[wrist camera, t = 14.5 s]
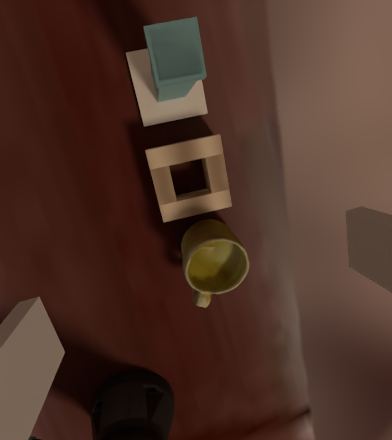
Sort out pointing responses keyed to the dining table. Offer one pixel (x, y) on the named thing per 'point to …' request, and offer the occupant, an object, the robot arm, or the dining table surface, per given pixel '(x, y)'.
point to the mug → (212, 260)
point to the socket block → (197, 200)
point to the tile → (147, 97)
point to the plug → (175, 57)
